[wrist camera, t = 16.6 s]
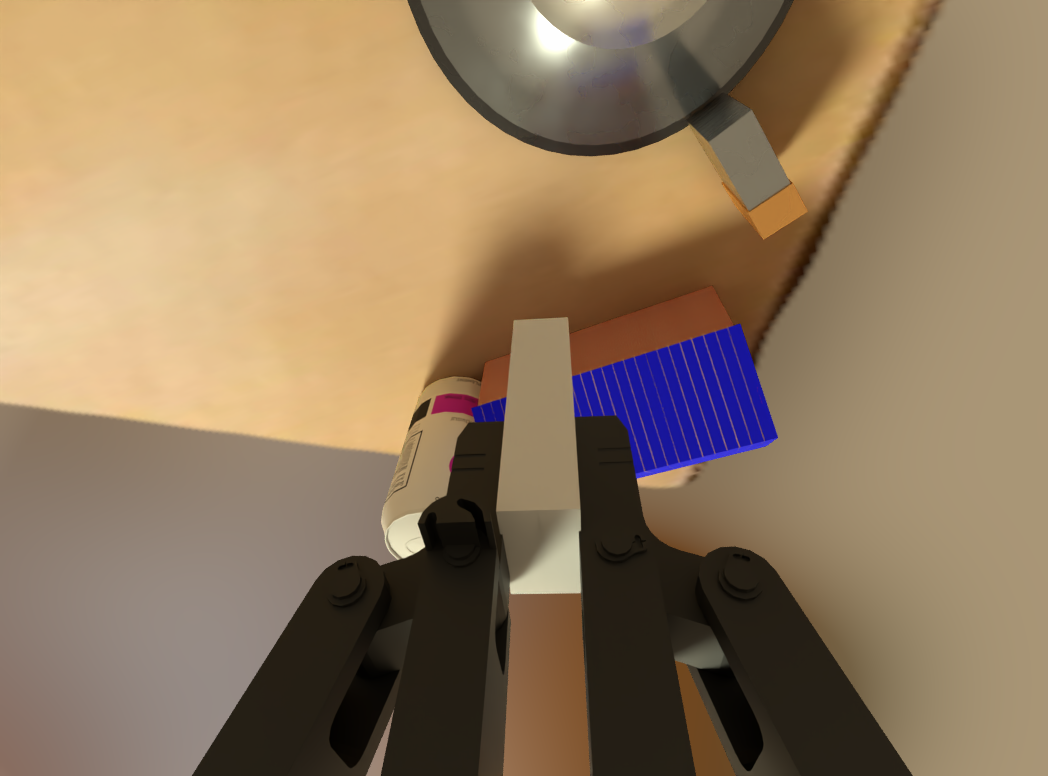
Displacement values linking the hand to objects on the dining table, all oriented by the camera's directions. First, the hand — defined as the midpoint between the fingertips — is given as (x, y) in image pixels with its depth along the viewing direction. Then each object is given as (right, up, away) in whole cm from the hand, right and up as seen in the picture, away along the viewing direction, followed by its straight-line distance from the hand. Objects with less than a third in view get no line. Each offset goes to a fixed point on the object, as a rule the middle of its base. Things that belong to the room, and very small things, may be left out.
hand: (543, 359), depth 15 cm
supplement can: (-6, -2, +33) cm, 34 cm away
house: (+7, 0, +31) cm, 32 cm away
